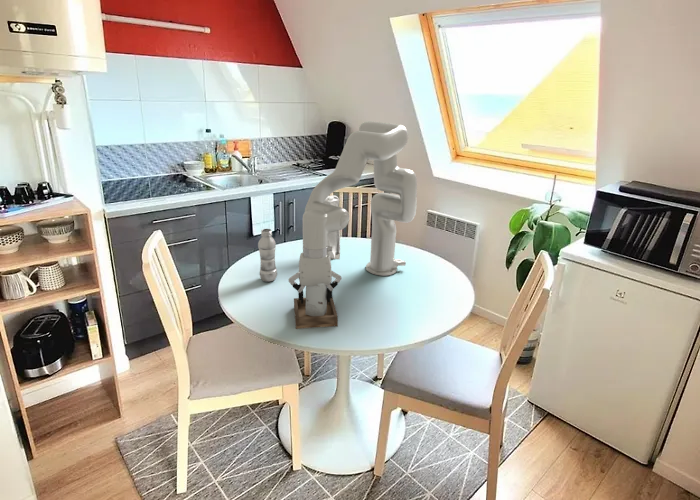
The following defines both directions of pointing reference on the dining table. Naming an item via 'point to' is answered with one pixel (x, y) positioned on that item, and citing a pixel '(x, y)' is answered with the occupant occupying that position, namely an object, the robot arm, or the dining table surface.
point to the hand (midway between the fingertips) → (315, 300)
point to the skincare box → (316, 300)
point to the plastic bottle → (267, 256)
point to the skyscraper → (332, 236)
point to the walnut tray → (314, 321)
